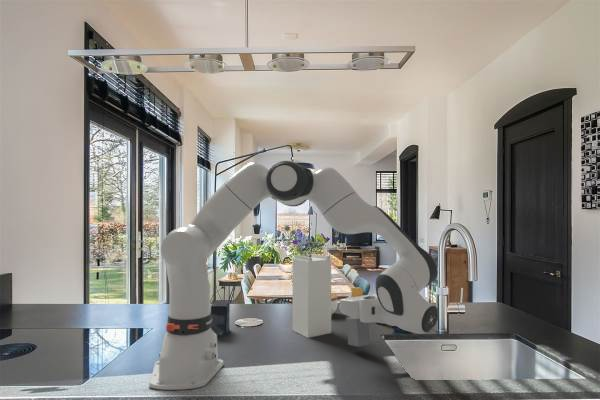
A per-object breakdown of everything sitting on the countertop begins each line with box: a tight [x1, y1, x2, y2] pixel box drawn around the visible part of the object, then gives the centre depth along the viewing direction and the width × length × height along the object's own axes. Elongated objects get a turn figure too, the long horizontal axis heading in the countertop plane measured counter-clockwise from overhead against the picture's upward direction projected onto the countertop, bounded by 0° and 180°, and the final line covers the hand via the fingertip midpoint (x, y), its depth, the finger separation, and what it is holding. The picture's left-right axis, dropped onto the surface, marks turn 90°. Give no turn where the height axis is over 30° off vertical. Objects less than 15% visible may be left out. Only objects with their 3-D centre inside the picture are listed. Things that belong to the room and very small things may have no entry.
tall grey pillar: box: [291, 253, 332, 339], centre depth 145 cm, size 10×10×27 cm
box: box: [210, 300, 231, 337], centre depth 143 cm, size 8×6×11 cm
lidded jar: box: [331, 293, 339, 317], centre depth 169 cm, size 11×11×9 cm
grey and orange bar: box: [345, 286, 371, 348], centre depth 124 cm, size 17×4×5 cm
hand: (353, 298), depth 125 cm, fingers closed on grey and orange bar, 2 cm apart
